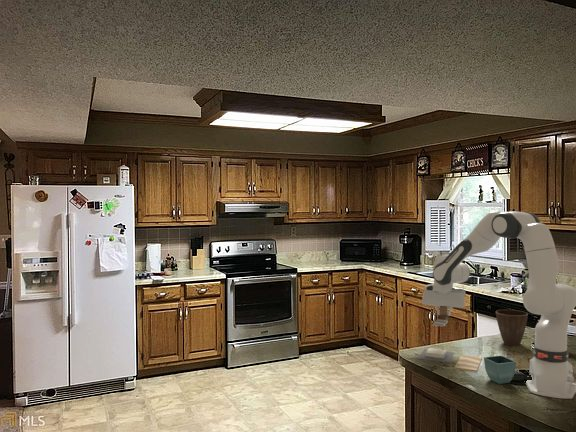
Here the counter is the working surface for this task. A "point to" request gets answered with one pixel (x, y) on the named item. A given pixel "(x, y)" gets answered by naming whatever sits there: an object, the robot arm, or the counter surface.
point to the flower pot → (499, 369)
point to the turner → (441, 317)
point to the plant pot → (511, 325)
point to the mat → (446, 359)
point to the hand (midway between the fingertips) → (443, 315)
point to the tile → (436, 353)
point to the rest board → (468, 363)
